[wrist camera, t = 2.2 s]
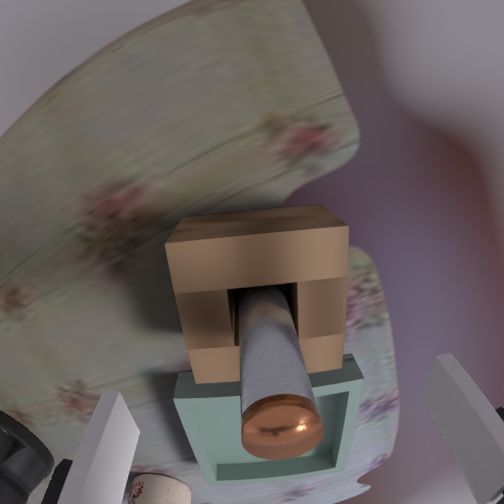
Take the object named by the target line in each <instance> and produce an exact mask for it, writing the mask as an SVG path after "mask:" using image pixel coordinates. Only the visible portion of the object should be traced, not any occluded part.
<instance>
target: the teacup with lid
mask: <svg viewBox="0 0 504 504" xmlns="http://www.w3.org/2000/svg"><path fill="white" fill-rule="evenodd" d="M190 500H191V490H190V488H189V487H188V486H187V485H186V484H184V483H183V482H181V481H179V480H176V479H174V478H171V477H168V476H163V475H158V474H142V475H138V476H136V477H135V478H134V480H133V483H132V487H131V492H130V496H129V501H128V504H190Z"/></svg>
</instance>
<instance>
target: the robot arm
mask: <svg viewBox="0 0 504 504" xmlns="http://www.w3.org/2000/svg"><path fill="white" fill-rule="evenodd" d="M422 401H423V403H424V404H425V406H426V408H427V410H428V411H429V413H430V415H431V417H432V418H433V420H434V422H435V424H436V425H437V427H438V429H439V431H440V432H441V434H442V436H443V438H444V440H445V441H446V443H447V445H448V447H449V449H450V451H451V452H452V454H453V456H454V458H455V460H456V462H457V464H458V465H459V467H460V469H461V471H462V473H463V475H464V477H465V479H466V481H467V483H468V485H469V487H470V489H471V491H472V493H473V495H474V497H475V499H476V501H477V503H478V504H488V503H490V502H492V501H494V500H495V499H496V498H497V497H498V496H499V495H500V494H501V493H503V495H504V408H502V407H500V408H498V409H496V410H495V409H494V408H493V407H492V405H491V404H490V403H489V401H488V400H487V399H486V397H485V396H484V395H483V393H482V392H481V391H480V389H479V388H478V387H477V386H476V384H475V383H474V382H473V380H472V379H471V378H470V377H469V375H468V374H467V373H466V371H465V370H464V369H463V368H462V367H461V365H460V364H459V363H458V362H457V360H456V359H455V358H454V357H453V356H452V354H451V353H447V354H444V355H441V356H437V357H436V360H435V363H434V367H433V370H432V373H431V376H430V379H429V382H428V385H427V388H426V391H425V394H424V397H423V400H422ZM139 434H140V431H139V430H138V428H137V426H136V424H135V422H134V420H133V418H132V416H131V414H130V412H129V410H128V408H127V406H126V404H125V402H124V399H123V397H122V395H121V393H120V391H106V390H104V391H103V393H102V395H101V397H100V400H99V402H98V404H97V406H96V408H95V411H94V413H93V415H92V418H91V420H90V422H89V424H88V427H87V429H86V431H85V434H84V436H83V438H82V441H81V443H80V446H79V448H78V451H77V453H76V455H75V458H74V460H73V461H72V460H68V459H63V460H62V461H61V462H60V463H59V464H58V466H57V467H56V468H55V470H54V473H53V475H52V480H50V483H49V485H48V488H47V490H46V493H45V495H44V498H43V500H42V503H41V504H121V503H122V499H123V495H124V491H125V487H126V483H127V479H128V475H129V471H130V467H131V463H132V460H133V456H134V452H135V449H136V445H137V441H138V438H139ZM53 466H54V459H53V457H52V455H51V453H50V452H49V451H48V449H47V448H46V447H45V446H44V445H43V444H42V443H41V442H40V441H39V440H38V439H37V438H36V437H35V436H34V435H33V434H32V433H31V432H30V431H28V430H27V429H26V428H25V427H23V426H22V425H21V424H19V423H18V422H17V421H15V420H14V419H12V418H11V417H9V416H7V415H6V414H4V413H2V412H0V504H26V502H27V500H28V497H29V495H30V493H31V492H32V491H33V490H34V489H35V488H36V487H37V486H38V485H39V483H40V482H41V481H42V480H43V478H46V477H47V476H49V474H50V473H51V470H52V468H53ZM496 504H504V497H502V498H501V499H500V500H499V501H498V502H497V503H496Z"/></svg>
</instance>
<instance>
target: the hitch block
mask: <svg viewBox="0 0 504 504" xmlns="http://www.w3.org/2000/svg"><path fill="white" fill-rule="evenodd" d="M348 235H349V226H348V225H347V224H346V223H344V222H343V221H342V220H340V219H339V218H338V217H337V216H335V215H334V214H333V213H332V212H331V211H329V210H328V209H327V208H325V207H324V206H323V205H308V206H296V207H283V208H272V209H261V210H250V211H240V212H230V213H221V214H211V215H202V216H193V217H184V218H182V219H181V221H180V222H179V224H178V225H177V226H176V228H175V229H174V231H173V232H172V234H171V235H170V237H169V238H168V239H167V241H166V242H165V249H166V254H167V260H168V265H169V270H170V275H171V280H172V285H173V290H174V295H175V299H176V304H177V309H178V313H179V318H180V322H181V326H182V331H183V335H184V339H185V343H186V347H187V351H188V355H189V359H190V363H191V367H192V371H193V375H194V378H195V382H196V384H200V383H220V382H234V381H240V358H239V301H235V299H234V291H233V289H234V288H244V287H254V286H264V285H274V284H283V283H285V291H286V296H285V297H286V300H287V304H288V307H289V310H290V314H291V317H292V320H293V324H294V327H295V331H296V334H297V337H298V341H299V344H300V348H301V351H302V355H303V358H304V362H305V365H306V369H307V372H308V373H315V372H321V371H328V370H334V369H340V368H342V361H343V349H344V337H345V323H346V307H347V285H348V248H349V243H348V242H349V236H348Z"/></svg>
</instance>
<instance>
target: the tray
mask: <svg viewBox="0 0 504 504" xmlns="http://www.w3.org/2000/svg"><path fill="white" fill-rule="evenodd" d="M308 376H309V379H310V383H311V386H312V390H313V393H314V397H315V400H316V404H317V407H318V411H319V415H320V418H321V422H322V425H323V429H324V435H323V438H322V440H321V441H320V443H319V444H318V445H317V446H316V447H315V448H313V449H312V450H310V451H309V452H307V453H305V454H303V455H300V456H297V457H294V458H290V459H284V460H267V459H262V458H258V457H255V456H253V455H251V454H249V453H248V452H247V451H246V450H245V449H244V448H243V446H242V442H241V406H240V381H234V382H220V383H200V384H196V382H195V378H194V375H193V372H179V373H178V377H177V382H176V387H175V391H174V396H173V400H174V403H175V406H176V409H177V411H178V414H179V417H180V419H181V422H182V425H183V427H184V430H185V432H186V435H187V437H188V440H189V442H190V445H191V447H192V450H193V452H194V454H195V457H196V459H197V462H198V464H199V466H200V468H201V471H202V473H203V475H204V477H205V480H206V482H207V484H208V485H235V484H252V483H265V482H275V481H284V480H292V479H299V478H306V477H312V476H318V475H324V474H329V473H334V472H339V471H344V469H345V465H346V462H347V458H348V454H349V450H350V446H351V441H352V437H353V433H354V428H355V424H356V419H357V414H358V409H359V404H360V399H361V393H362V388H363V382H364V377H363V375H362V373H361V371H360V369H359V367H358V365H357V363H356V361H355V359H354V357H353V355H352V354H351V355H345V356H343V361H342V368H340V369H334V370H328V371H321V372H315V373H308Z"/></svg>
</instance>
